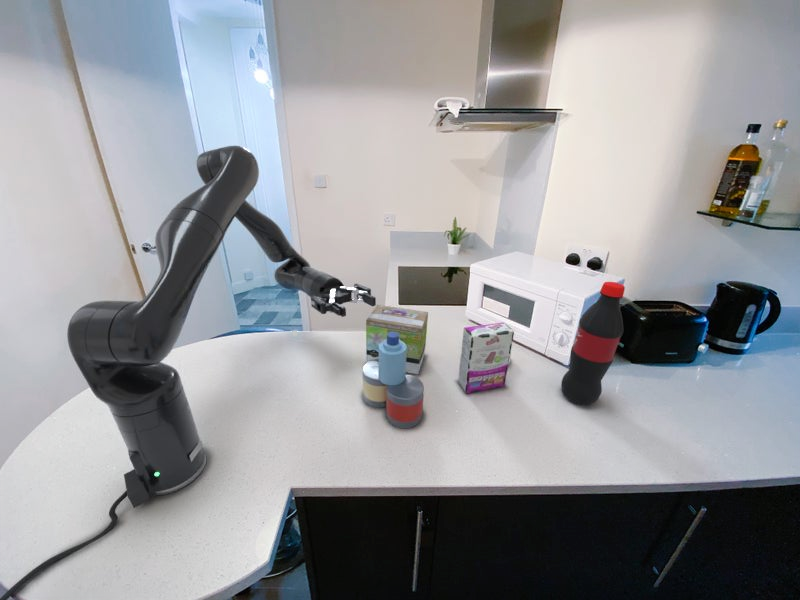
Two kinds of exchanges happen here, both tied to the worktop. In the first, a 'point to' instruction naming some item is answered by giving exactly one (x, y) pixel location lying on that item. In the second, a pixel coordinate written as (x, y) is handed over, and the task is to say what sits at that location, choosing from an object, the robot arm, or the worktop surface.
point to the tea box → (403, 322)
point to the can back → (373, 385)
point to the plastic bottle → (392, 359)
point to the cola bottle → (594, 346)
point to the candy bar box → (485, 356)
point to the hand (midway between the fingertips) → (360, 307)
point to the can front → (405, 402)
